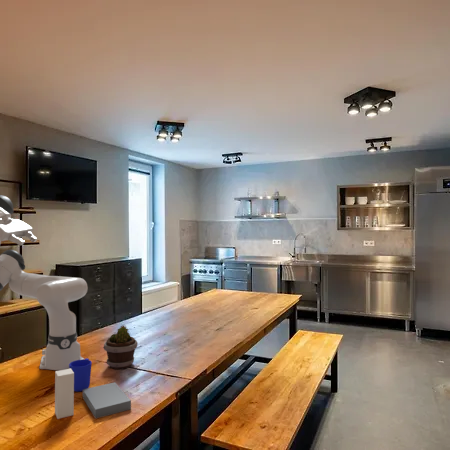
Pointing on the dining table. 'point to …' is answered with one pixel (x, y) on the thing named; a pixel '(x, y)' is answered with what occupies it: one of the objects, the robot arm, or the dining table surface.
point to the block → (64, 393)
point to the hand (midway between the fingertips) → (29, 242)
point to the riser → (106, 400)
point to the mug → (81, 373)
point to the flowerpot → (120, 349)
